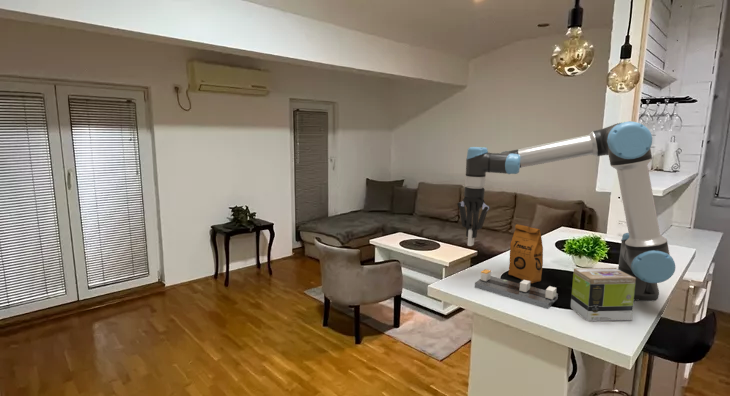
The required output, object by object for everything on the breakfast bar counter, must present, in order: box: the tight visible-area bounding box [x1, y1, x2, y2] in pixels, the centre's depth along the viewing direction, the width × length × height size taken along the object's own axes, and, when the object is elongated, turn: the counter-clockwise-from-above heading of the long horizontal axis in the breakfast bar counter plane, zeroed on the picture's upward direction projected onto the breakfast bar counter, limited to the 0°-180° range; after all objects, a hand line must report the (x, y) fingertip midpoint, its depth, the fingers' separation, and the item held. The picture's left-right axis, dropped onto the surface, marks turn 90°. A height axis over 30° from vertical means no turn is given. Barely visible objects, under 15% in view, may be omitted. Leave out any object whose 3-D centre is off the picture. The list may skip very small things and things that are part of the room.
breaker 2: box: [519, 280, 531, 292], centre depth 143 cm, size 2×4×3 cm, turn 139°
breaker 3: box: [545, 285, 557, 299], centre depth 137 cm, size 2×4×3 cm, turn 139°
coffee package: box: [508, 223, 544, 284], centre depth 159 cm, size 10×12×22 cm
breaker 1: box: [479, 268, 492, 281], centre depth 152 cm, size 2×4×3 cm, turn 139°
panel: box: [474, 275, 559, 310], centre depth 145 cm, size 28×11×2 cm, turn 49°
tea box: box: [570, 267, 636, 322], centre depth 128 cm, size 15×10×15 cm, turn 92°
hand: (470, 245), depth 155 cm, fingers closed
